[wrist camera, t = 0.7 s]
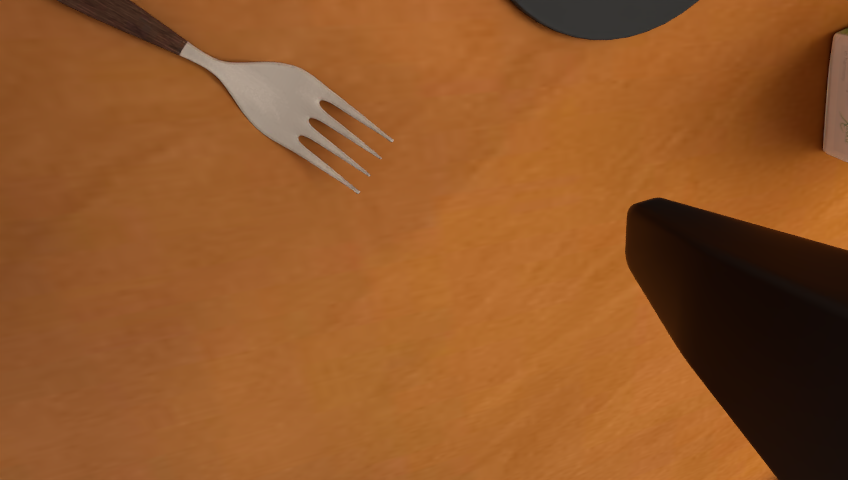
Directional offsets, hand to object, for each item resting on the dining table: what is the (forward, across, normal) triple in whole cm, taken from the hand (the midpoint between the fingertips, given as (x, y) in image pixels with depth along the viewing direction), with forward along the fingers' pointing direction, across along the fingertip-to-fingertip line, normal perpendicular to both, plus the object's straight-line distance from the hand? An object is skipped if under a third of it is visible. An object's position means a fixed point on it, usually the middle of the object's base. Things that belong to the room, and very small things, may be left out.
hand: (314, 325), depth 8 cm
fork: (+15, +3, -1) cm, 15 cm away
